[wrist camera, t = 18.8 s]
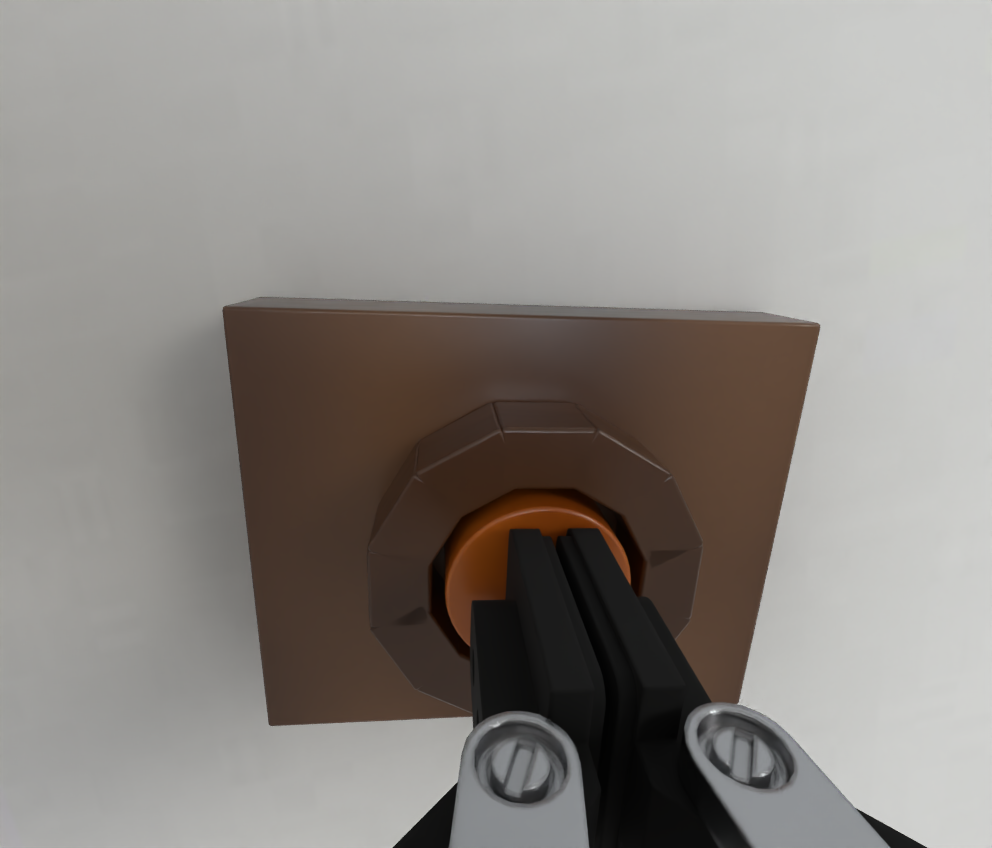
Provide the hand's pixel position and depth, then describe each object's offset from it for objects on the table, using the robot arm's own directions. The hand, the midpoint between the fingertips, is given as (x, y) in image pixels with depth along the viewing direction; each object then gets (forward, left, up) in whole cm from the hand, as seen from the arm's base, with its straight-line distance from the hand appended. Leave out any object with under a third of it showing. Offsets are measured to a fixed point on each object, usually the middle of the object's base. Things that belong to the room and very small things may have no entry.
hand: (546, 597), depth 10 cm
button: (0, 0, -2) cm, 2 cm away
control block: (0, 0, -4) cm, 4 cm away
